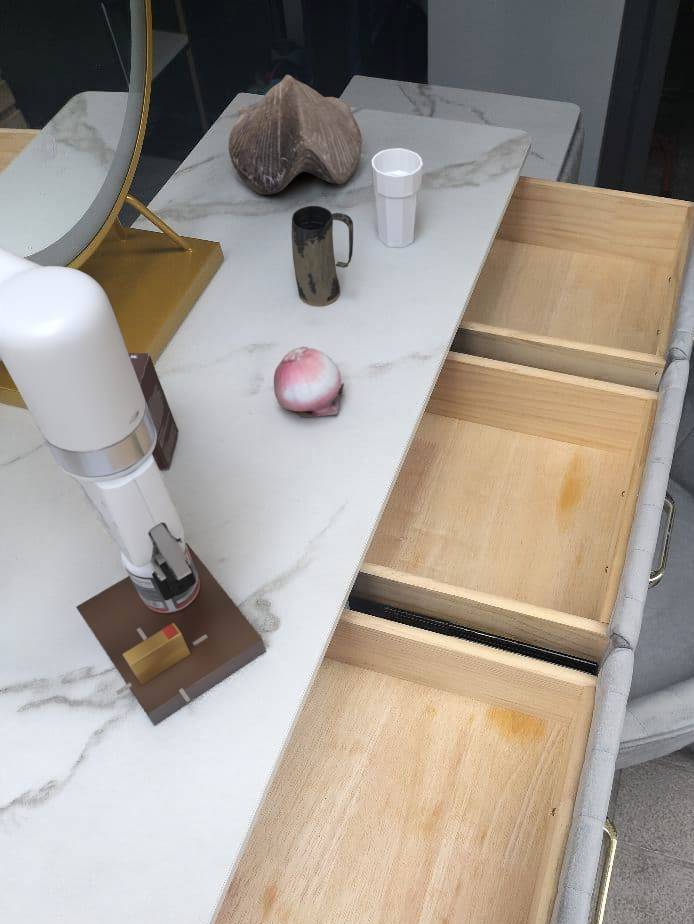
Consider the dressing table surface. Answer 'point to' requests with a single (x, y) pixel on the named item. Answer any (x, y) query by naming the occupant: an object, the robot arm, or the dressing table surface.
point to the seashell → (294, 138)
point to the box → (156, 408)
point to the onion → (308, 382)
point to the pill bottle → (150, 590)
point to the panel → (203, 628)
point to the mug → (317, 254)
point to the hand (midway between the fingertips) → (158, 561)
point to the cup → (396, 194)
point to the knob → (157, 653)
